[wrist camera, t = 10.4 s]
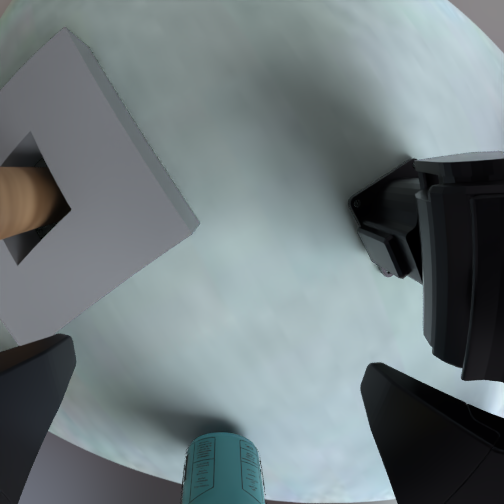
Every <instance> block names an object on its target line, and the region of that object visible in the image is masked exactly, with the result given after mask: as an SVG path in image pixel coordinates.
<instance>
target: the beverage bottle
mask: <svg viewBox="0 0 504 504" xmlns="http://www.w3.org/2000/svg"><path fill="white" fill-rule="evenodd" d="M187 449H188V452H186V454H187V456H185V457H186V466H185V462H184V470H185V475H184V472H183V478H184V481H183V480H182V488H183V482H184V489H183V497H182V498H183V499H182V504H265V501H264V494H263V487H262V480H261V469H260V465H259V462H260V464H261V461H259V457H258V451H257V448H256V447H255V446H254V444H253V443H252V442H251V441H250V440H248V439H247V438H245V437H243V436H240V435H237V434H233V433H226V432H215V433H209V434H205V435H202V436H200V437H198V438H196V439H195V440H194V441H193V442H192V443H191V445H190V447H189V448H187ZM259 456H260V455H259ZM260 459H261V458H260ZM261 468H262V465H261ZM262 475H263V472H262ZM263 485H264V480H263ZM264 490H265V487H264ZM264 492H265V491H264ZM265 495H266V494H265Z"/></svg>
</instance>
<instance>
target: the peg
mask: <svg viewBox="0 0 504 504" xmlns="http://www.w3.org/2000/svg"><path fill="white" fill-rule="evenodd" d="M70 211H71V208H70V206H69V204H68V203H67V201H66V199H65V197H64V196H63V194H62V192H61V190H60V188H59V187H58V185H57V183H56V181H55V179H54V177H53V175H52V173H51V172H50V170H49V168H48V167H0V240H2V239H5V238H8V237H11V236H14V235H17V234H20V233H23V232H26V231H30V230H33V229H36V228H39V227H43V226H46V225H49V224H53V223H56V222H59V221H61V220H62V219H63V218H64V217H65V216H66V215H67V214H68V213H69V212H70Z"/></svg>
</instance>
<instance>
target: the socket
mask: <svg viewBox="0 0 504 504" xmlns="http://www.w3.org/2000/svg"><path fill="white" fill-rule="evenodd" d="M42 157H43V158H44V160H45V162H46V164H47V166H48V168H49V170H50V172H51V173H52V175H53V177H54V179H55V181H56V183H57V185H58V187H59V188H60V190H61V192H62V194H63V196H64V197H65V199H66V201H67V203H68V204H69V206H70V208H71V209H72V210H71V211H70V212H69V213H68V214H67V215H66V216H65V217H64V218H63V219H62V220H61V221H60V222H59V223H58V224H57V225H56V226H55V227H54V228H53V229H52V230H51V231H50V232H49V233H48V234H47V235H46V236H45V237H44V238H43V239H42V240H41V239H40V237H39V235H38V234H37V232H36V230H35V229H33V230H30V231H26V232H23V233H20V234H17V235H14V236H11V237H8V238H5V239H2V240H0V319H1V321H2V322H3V324H4V325H5V327H6V328H7V330H8V331H9V333H10V334H11V336H12V337H13V338H14V340H15V341H16V343H17V344H18V345H19V346H22V345H25V344H28V343H31V342H34V341H37V340H40V339H43V338H47V337H50V336H53V335H54V334H55V333H57V332H58V331H59V330H60V329H62V328H63V327H64V326H65V325H67V324H68V323H69V322H71V321H72V320H73V319H75V318H76V317H77V316H78V315H80V314H81V313H82V312H84V311H85V310H86V309H88V308H89V307H90V306H92V305H93V304H94V303H96V302H97V301H98V300H100V299H101V298H102V297H104V296H105V295H106V294H108V293H109V292H111V291H112V290H113V289H115V288H116V287H117V286H119V285H120V284H121V283H123V282H124V281H126V280H127V279H128V278H130V277H131V276H133V275H134V274H135V273H137V272H138V271H140V270H141V269H142V268H144V267H145V266H147V265H148V264H149V263H151V262H152V261H154V260H155V259H157V258H158V257H159V256H161V255H162V254H164V253H165V252H167V251H168V250H170V249H171V248H172V247H174V246H175V245H177V244H178V243H180V242H181V241H183V240H184V239H186V238H187V237H189V236H190V235H192V234H193V232H194V231H195V230H196V228H197V227H198V226H199V225H200V222H199V220H198V219H197V217H196V216H195V214H194V213H193V211H192V210H191V208H190V207H189V205H188V204H187V202H186V201H185V199H184V198H183V196H182V195H181V193H180V192H179V190H178V189H177V187H176V186H175V184H174V182H173V181H172V179H171V178H170V176H169V175H168V173H167V172H166V170H165V169H164V167H163V166H162V164H161V162H160V161H159V159H158V158H157V156H156V155H155V153H154V152H153V150H152V148H151V147H150V145H149V144H148V142H147V141H146V139H145V137H144V136H143V134H142V133H141V131H140V130H139V128H138V126H137V125H136V123H135V122H134V120H133V118H132V117H131V115H130V114H129V112H128V110H127V109H126V107H125V106H124V104H123V102H122V101H121V99H120V98H119V96H118V94H117V93H116V91H115V89H114V88H113V86H112V85H111V83H110V81H109V80H108V78H107V76H106V75H105V73H104V71H103V70H102V68H101V66H100V65H99V63H98V61H97V60H96V58H95V56H94V55H93V53H92V51H91V50H90V48H89V47H88V46H87V45H86V44H85V43H84V42H82V41H81V40H80V39H79V38H78V37H77V36H75V35H74V34H73V33H72V32H71V31H70V30H68V29H67V28H66V27H64V28H63V29H62V30H60V31H59V32H58V33H57V34H56V35H54V36H53V37H52V38H51V39H50V40H49V41H48V42H47V43H45V44H44V45H43V46H42V47H41V48H40V49H39V50H38V51H37V52H36V53H35V54H34V55H33V56H32V57H31V58H30V59H29V60H28V61H27V62H26V63H25V64H24V65H23V66H22V67H21V68H20V69H19V70H18V71H17V72H16V73H15V74H14V75H13V77H12V78H11V79H10V80H9V81H8V82H7V83H6V84H5V86H4V87H3V88H2V89H1V90H0V167H33V166H34V165H35V164H36V163H37V162H38V161H39V160H40V159H41V158H42Z"/></svg>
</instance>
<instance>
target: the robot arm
mask: <svg viewBox="0 0 504 504" xmlns="http://www.w3.org/2000/svg"><path fill="white" fill-rule="evenodd" d="M413 163H414V164H415V168H413V166H412V164H413ZM355 200H358V205H357V206H356V207H355V206H354V201H355ZM348 205H349V207H350V209H351V211H352V213H353V215H354V217H355V219H356V221H357V223H358V225H359V228H358V234H359V236H360V238H361V240H362V242H363V244H364V246H365V248H366V250H367V252H368V254H369V256H370V258H371V260H372V262H374V263H376V264H377V265H378V266H379V268H380V270H381V273H382V274H383V275H384V276H386V277H391V276H392V275H395V276H396V277H398V278H402V279H403V278H405V277H406V276H409V277H410V278H412V279H414V280H415V281H417V282H419V283H420V284H422V285H423V333H424V336H425V338H426V339H427V341H428V342H429V344H430V346H431V347H432V353H433V355H435V356H436V357H438V358H439V359H441V360H442V361H444V362H445V363H448V364H450V365H453V366H455V367H458V368H463V369H462V374H461V379H462V380H464V381H471V380H490V381H499V382H503V383H504V152H502V151H490V152H471V153H463V154H455V155H448V156H441V157H434V158H427V159H421V160H417V159H409V160H408V161H406V162H404V163H403V164H401V165H400V166H398V167H397V168H395V169H394V170H392V171H391V172H389V173H387V174H386V175H384V176H383V177H381V178H380V179H378V180H377V181H375V182H373V183H372V184H370V185H369V186H367V187H366V188H364V189H363V190H361V191H359V192H358V193H356V194H355V195H353V196H352V197H351V198H350V199H349V201H348ZM386 270H387V271H388V272H386ZM75 366H76V356H75V350H74V345H73V340H72V338H71V337H70V336H69V335H64V334H56V335H53V336H50V337H47V338H43V339H40V340H37V341H34V342H31V343H28V344H25V345H22V346H18V347H15V348H12V349H9V350H6V351H2V352H0V504H18V502H19V499H20V496H21V494H22V491H23V488H24V486H25V483H26V481H27V478H28V475H29V473H30V470H31V468H32V466H33V463H34V461H35V458H36V456H37V454H38V452H39V449H40V447H41V445H42V442H43V440H44V438H45V436H46V434H47V432H48V429H49V427H50V425H51V423H52V421H53V419H54V417H55V415H56V413H57V411H58V409H59V407H60V404H61V402H62V400H63V397H64V395H65V392H66V389H67V386H68V384H69V381H70V379H71V376H72V373H73V371H74V368H75ZM360 389H361V394H362V398H363V402H364V406H365V410H366V413H367V417H368V421H369V425H370V428H371V431H372V434H373V437H374V440H375V442H376V445H377V447H378V450H379V453H380V456H381V458H382V461H383V464H384V466H385V469H386V472H387V475H388V477H389V480H390V483H391V486H392V489H393V492H394V495H395V497H396V500H397V503H398V504H504V418H502V417H499V416H496V415H493V414H491V413H488V412H486V411H483V410H481V409H479V408H476V407H474V406H472V405H470V404H466V403H465V402H463V401H461V400H459V399H456V398H454V397H452V396H450V395H448V394H446V393H444V392H441V391H439V390H437V389H435V388H433V387H431V386H429V385H427V384H425V383H422V382H420V381H418V380H416V379H414V378H412V377H410V376H408V375H406V374H404V373H402V372H400V371H398V370H396V369H394V368H392V367H390V366H388V365H386V364H384V363H381V362H377V363H370V364H369V365H368V366H367V368H366V371H365V374H364V377H363V380H362V382H361V387H360Z"/></svg>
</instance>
